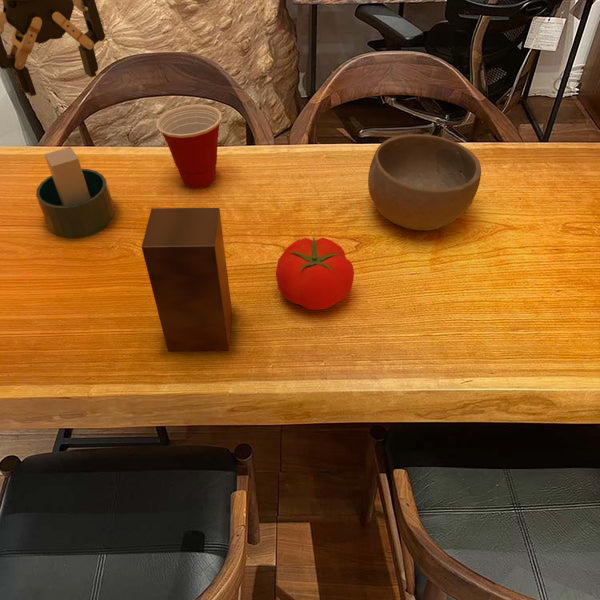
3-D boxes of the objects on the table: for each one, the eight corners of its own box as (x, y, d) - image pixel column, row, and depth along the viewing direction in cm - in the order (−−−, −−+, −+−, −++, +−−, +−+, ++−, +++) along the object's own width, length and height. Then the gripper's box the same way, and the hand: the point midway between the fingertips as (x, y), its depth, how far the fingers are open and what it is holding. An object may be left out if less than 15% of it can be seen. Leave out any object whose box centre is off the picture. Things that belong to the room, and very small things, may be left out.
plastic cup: (190, 156, 109) (181, 95, 101) (239, 172, 106) (234, 110, 97) (154, 186, 103) (141, 123, 94) (205, 203, 99) (196, 140, 90)
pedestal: (167, 351, 77) (141, 247, 64) (174, 312, 82) (151, 208, 69) (228, 350, 77) (214, 246, 64) (232, 311, 82) (219, 207, 69)
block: (72, 225, 94) (51, 166, 86) (65, 212, 96) (44, 153, 89) (96, 217, 96) (78, 158, 88) (88, 204, 98) (70, 146, 90)
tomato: (276, 268, 88) (275, 229, 83) (349, 267, 88) (352, 228, 83) (275, 320, 80) (274, 281, 75) (355, 319, 81) (359, 280, 75)
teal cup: (58, 246, 91) (46, 215, 87) (40, 211, 98) (28, 181, 93) (123, 224, 95) (115, 193, 91) (102, 191, 102) (93, 161, 97)
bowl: (467, 185, 103) (479, 134, 96) (472, 251, 91) (487, 198, 83) (368, 177, 105) (374, 126, 98) (361, 240, 92) (366, 187, 85)
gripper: (65, -69, 73) (97, 60, 84) (-54, -47, 66) (-1, 90, 78) (92, -55, 69) (122, 78, 80) (-31, -30, 62) (20, 111, 74)
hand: (61, 84), depth 79 cm, fingers open, 8 cm apart
